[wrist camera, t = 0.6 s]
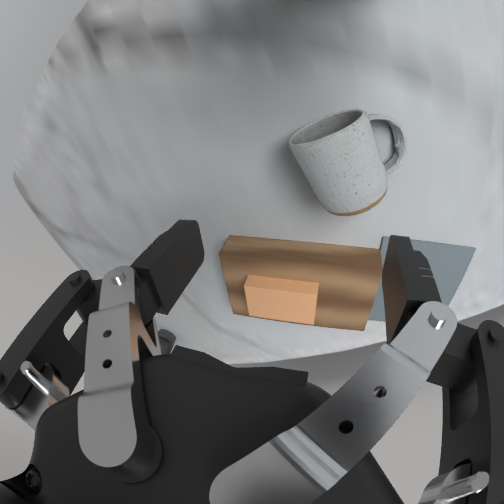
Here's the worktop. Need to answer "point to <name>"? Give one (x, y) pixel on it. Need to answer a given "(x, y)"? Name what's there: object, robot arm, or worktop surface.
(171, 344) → the beverage cup
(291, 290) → the orange tan rectangular block
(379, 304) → the mat
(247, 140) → the worktop surface
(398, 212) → the worktop surface
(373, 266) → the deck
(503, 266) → the worktop surface
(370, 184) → the ceramic mug
